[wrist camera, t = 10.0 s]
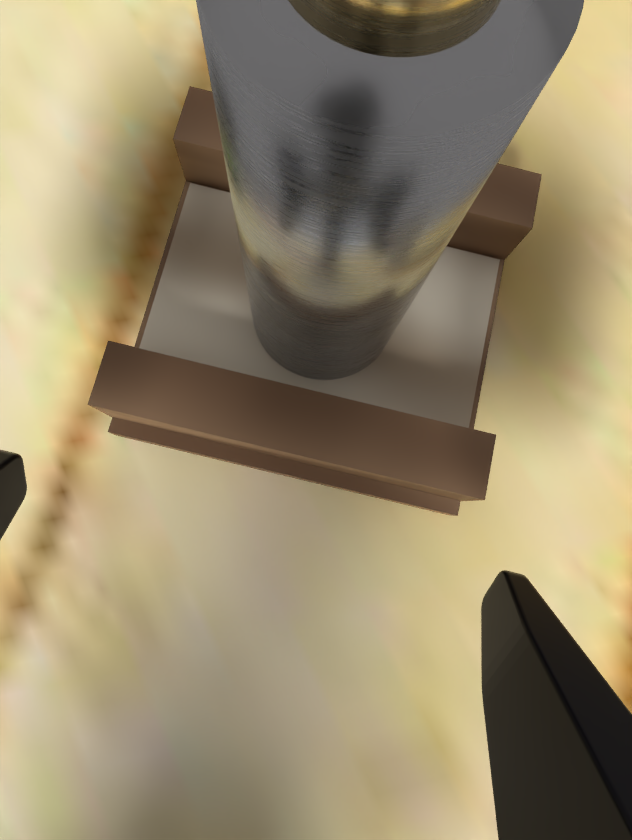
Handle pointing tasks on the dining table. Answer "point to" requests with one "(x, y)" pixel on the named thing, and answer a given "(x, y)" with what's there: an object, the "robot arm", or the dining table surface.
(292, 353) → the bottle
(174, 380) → the cradle
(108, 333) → the dining table surface
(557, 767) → the robot arm
